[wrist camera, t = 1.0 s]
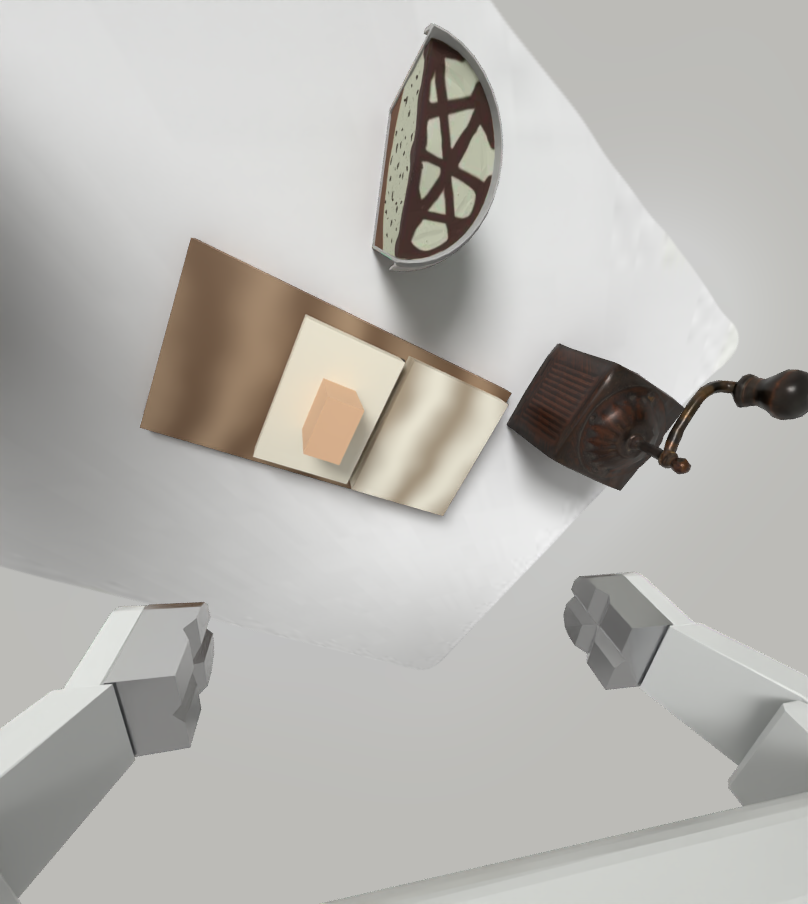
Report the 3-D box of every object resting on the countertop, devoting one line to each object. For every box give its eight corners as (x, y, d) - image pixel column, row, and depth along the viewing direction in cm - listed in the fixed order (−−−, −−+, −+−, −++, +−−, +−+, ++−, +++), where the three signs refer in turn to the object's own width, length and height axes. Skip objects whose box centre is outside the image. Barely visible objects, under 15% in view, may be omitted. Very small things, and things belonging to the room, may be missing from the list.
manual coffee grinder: (569, 456, 49) (700, 551, 33) (503, 425, 44) (617, 517, 29) (649, 341, 44) (844, 389, 29) (584, 293, 40) (773, 319, 24)
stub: (254, 447, 36) (247, 485, 30) (305, 314, 32) (308, 327, 26) (344, 474, 40) (353, 513, 34) (399, 357, 36) (421, 378, 30)
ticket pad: (145, 421, 35) (131, 437, 32) (195, 238, 30) (184, 236, 27) (436, 507, 47) (446, 525, 44) (504, 388, 42) (521, 399, 39)
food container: (435, 280, 35) (482, 288, 27) (369, 266, 34) (396, 271, 25) (468, 109, 30) (538, 52, 22) (392, 83, 29) (436, 9, 20)
